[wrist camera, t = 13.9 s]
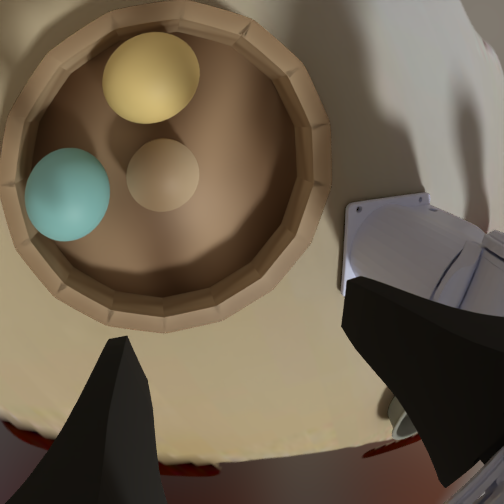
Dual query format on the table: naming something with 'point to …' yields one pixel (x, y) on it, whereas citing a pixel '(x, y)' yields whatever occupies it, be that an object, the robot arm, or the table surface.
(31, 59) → the table surface
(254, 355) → the table surface
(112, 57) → the bead ochre
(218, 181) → the groove tray
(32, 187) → the bead teal
